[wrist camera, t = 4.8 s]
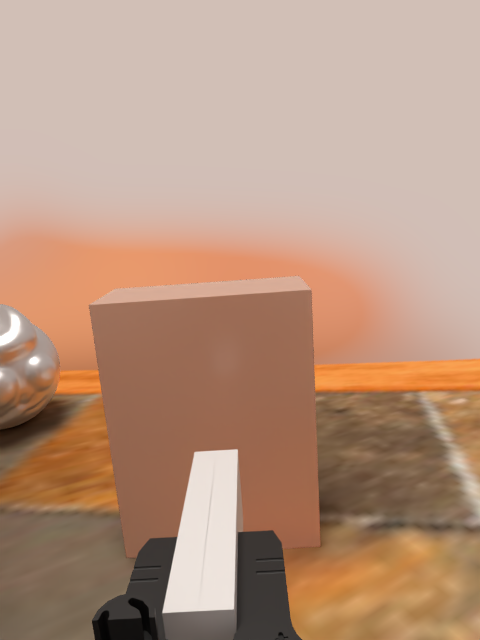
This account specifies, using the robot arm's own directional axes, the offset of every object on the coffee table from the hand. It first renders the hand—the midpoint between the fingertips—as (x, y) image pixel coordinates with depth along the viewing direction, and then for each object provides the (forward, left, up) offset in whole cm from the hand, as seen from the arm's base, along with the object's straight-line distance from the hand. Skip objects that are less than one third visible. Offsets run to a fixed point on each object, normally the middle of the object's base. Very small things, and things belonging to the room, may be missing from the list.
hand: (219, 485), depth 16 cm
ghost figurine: (-26, -6, -6) cm, 27 cm away
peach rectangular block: (-5, +3, -6) cm, 8 cm away
